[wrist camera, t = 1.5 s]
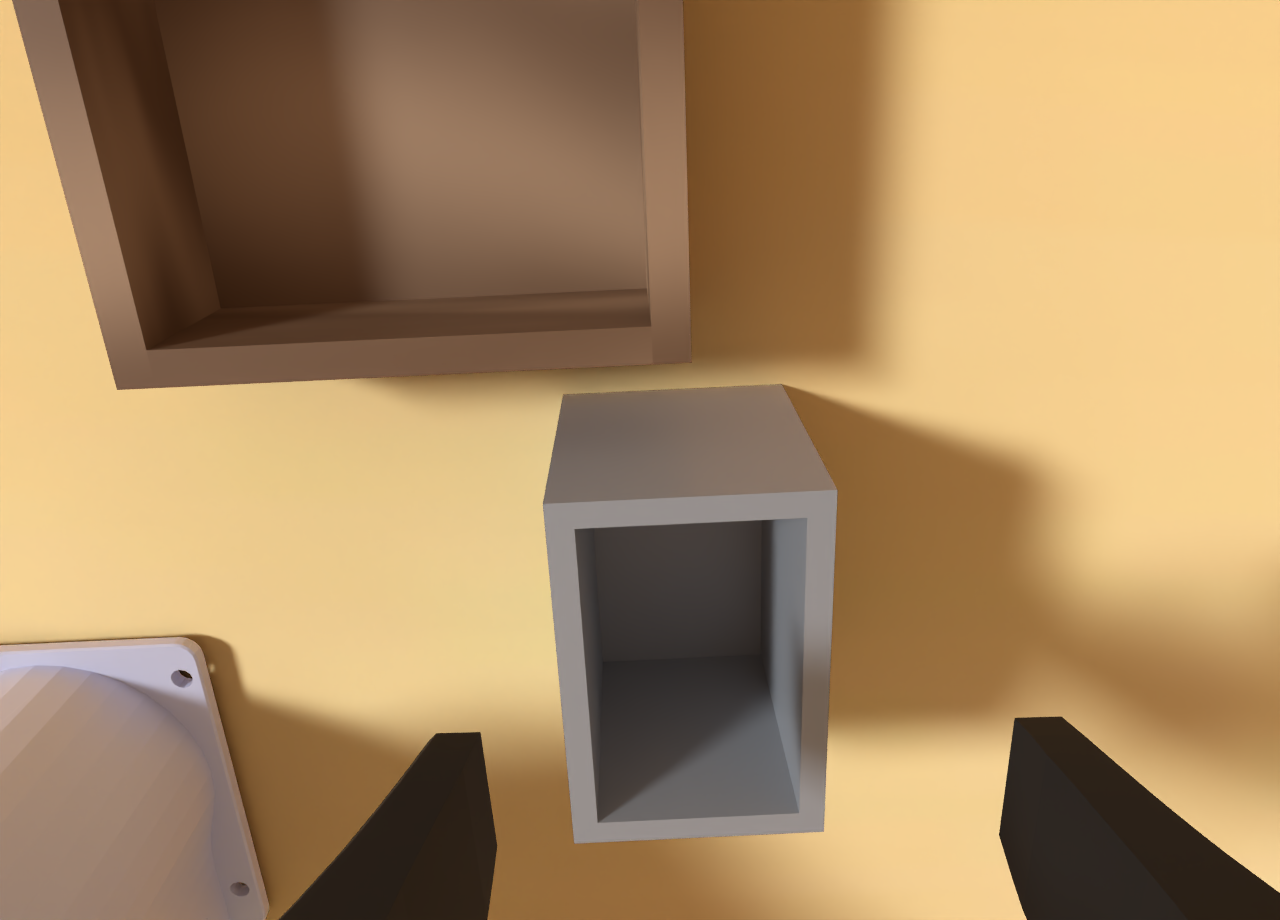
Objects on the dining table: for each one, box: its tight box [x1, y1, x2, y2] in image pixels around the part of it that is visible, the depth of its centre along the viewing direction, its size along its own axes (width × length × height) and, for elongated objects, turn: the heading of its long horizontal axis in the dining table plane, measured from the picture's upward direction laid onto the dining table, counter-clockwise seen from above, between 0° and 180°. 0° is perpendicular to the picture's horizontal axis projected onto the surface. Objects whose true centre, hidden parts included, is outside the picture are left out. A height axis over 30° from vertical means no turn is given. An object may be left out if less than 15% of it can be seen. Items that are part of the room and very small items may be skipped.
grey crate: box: [543, 384, 837, 844], centre depth 20 cm, size 8×5×6 cm, turn 3°
